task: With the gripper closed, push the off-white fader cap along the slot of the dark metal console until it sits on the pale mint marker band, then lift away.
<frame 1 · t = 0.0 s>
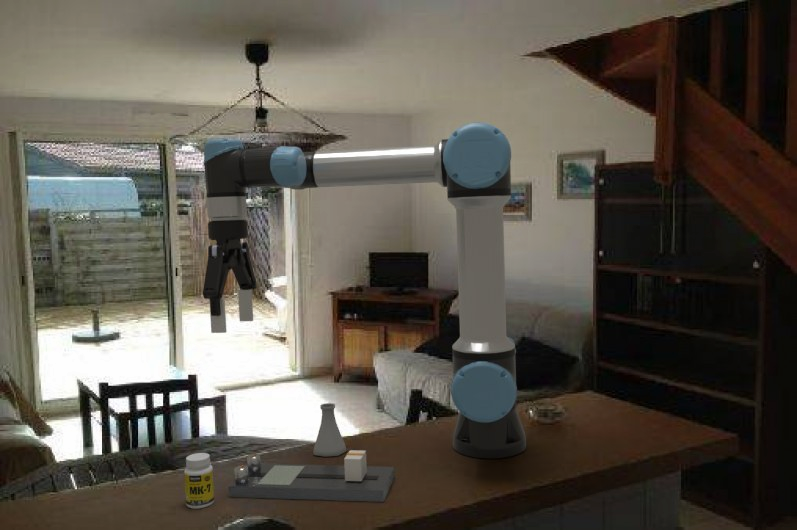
hand: (233, 326, 136), 28 cm above the breakfast bar, fingers open, 13 cm apart
console: (313, 486, 125), on the breakfast bar
fader: (355, 464, 123), point 4 cm above the breakfast bar, slide at -8.0 cm
supplement bottle: (200, 504, 120), on the breakfast bar
flask: (329, 452, 144), on the breakfast bar
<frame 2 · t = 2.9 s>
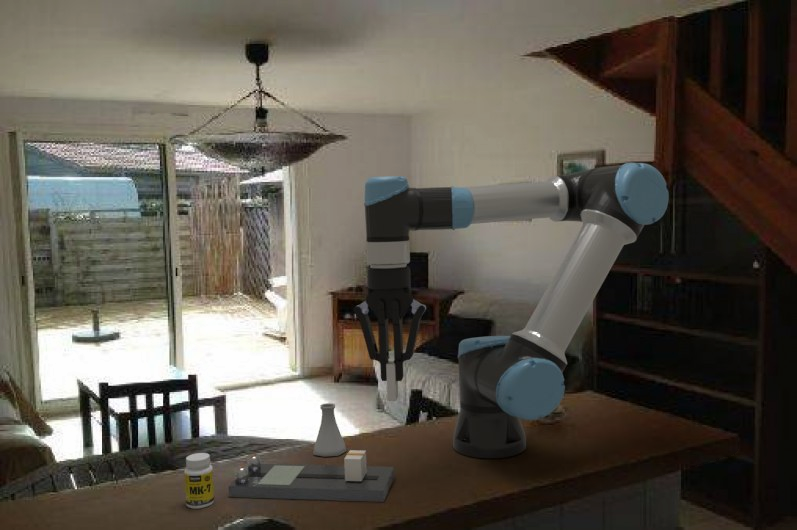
hand: (392, 398, 121), 17 cm above the breakfast bar, fingers closed
nothing on the breakfast bar moved.
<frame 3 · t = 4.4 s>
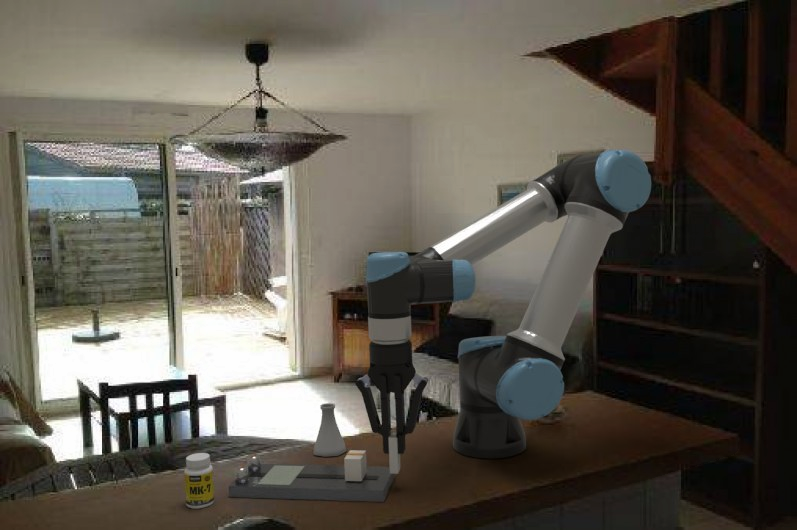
hand: (395, 470, 122), 3 cm above the breakfast bar, fingers closed
nothing on the breakfast bar moved.
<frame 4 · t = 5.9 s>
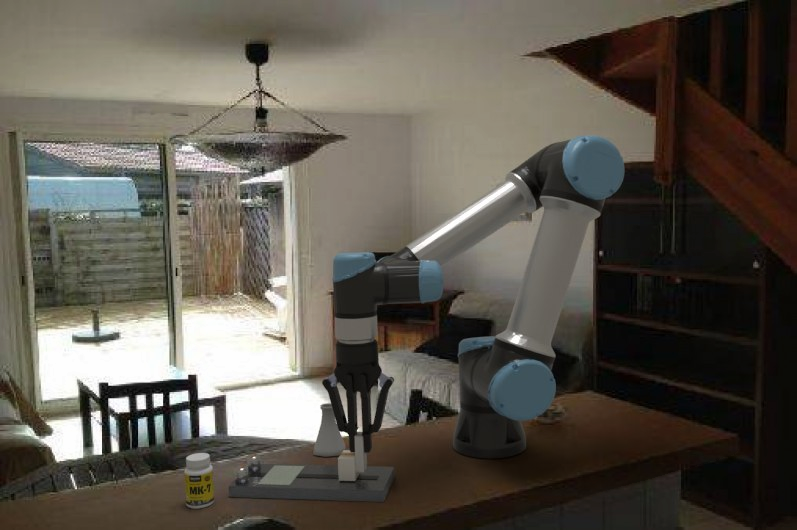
hand: (361, 469, 123), 4 cm above the breakfast bar, fingers closed
fader: (349, 464, 124), point 4 cm above the breakfast bar, slide at -6.8 cm, touching gripper
everything else where it was.
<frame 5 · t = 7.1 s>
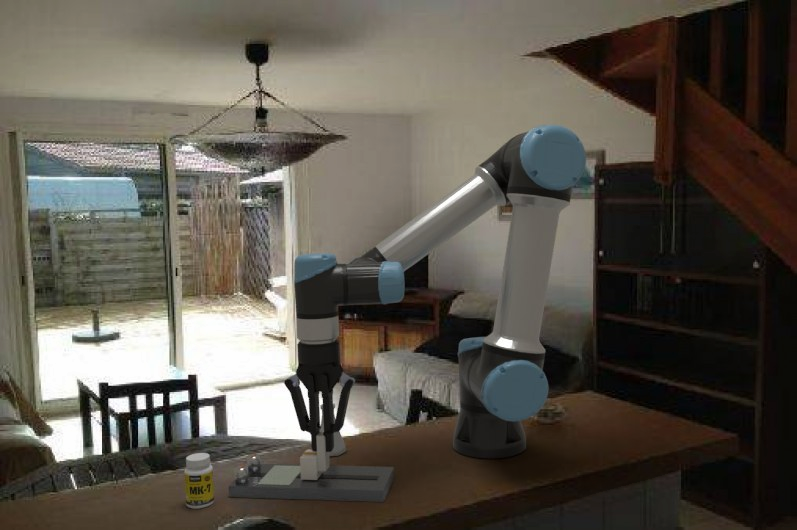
hand: (323, 468, 124), 4 cm above the breakfast bar, fingers closed
fader: (311, 463, 125), point 4 cm above the breakfast bar, slide at 0.2 cm, touching gripper
everything else where it was.
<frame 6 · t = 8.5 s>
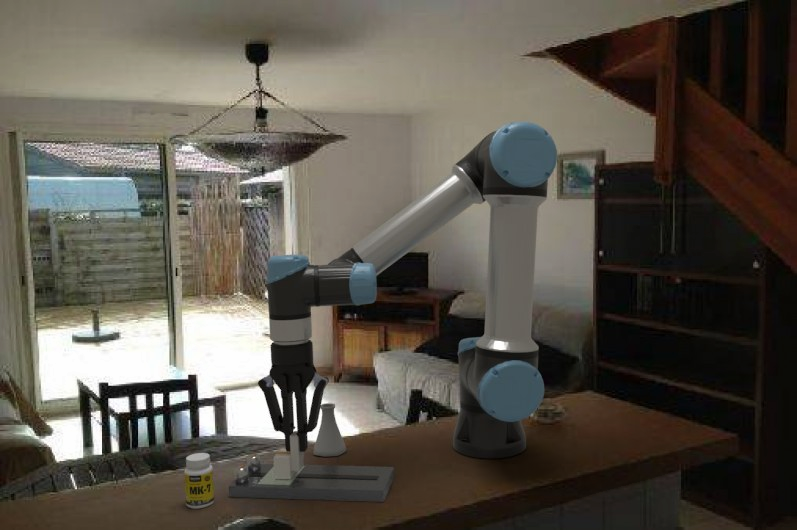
hand: (297, 468, 125), 3 cm above the breakfast bar, fingers closed
fader: (285, 463, 126), point 4 cm above the breakfast bar, slide at 5.1 cm, touching gripper
everything else where it was.
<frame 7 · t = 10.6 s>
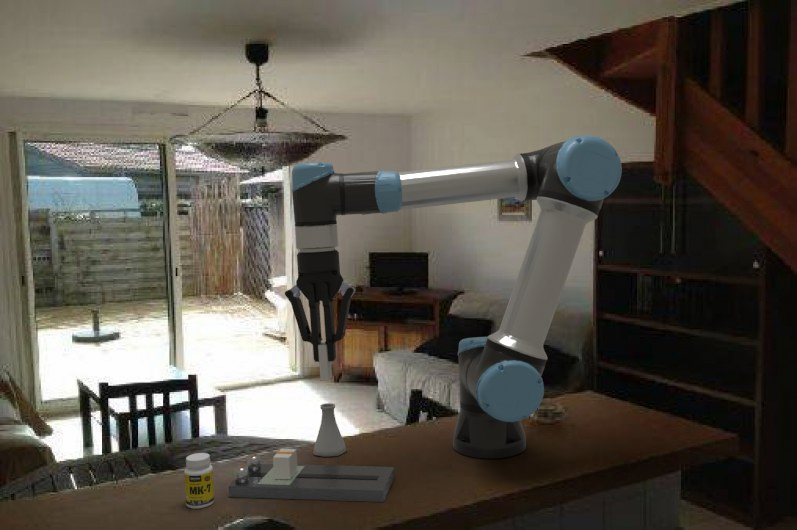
hand: (326, 378, 125), 20 cm above the breakfast bar, fingers closed
fader: (285, 463, 126), point 4 cm above the breakfast bar, slide at 5.2 cm
everything else where it was.
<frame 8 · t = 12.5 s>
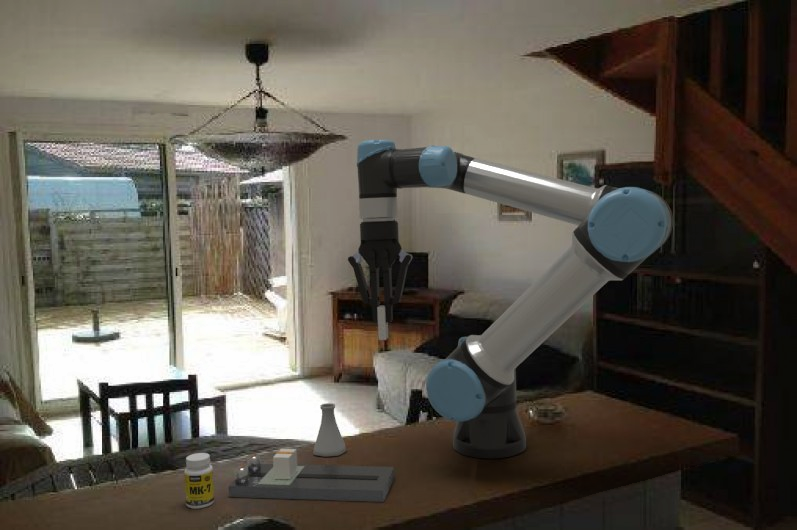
hand: (383, 338, 137), 24 cm above the breakfast bar, fingers closed
nothing on the breakfast bar moved.
at the end: fader slide at 5.2 cm; fader touching nothing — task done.
